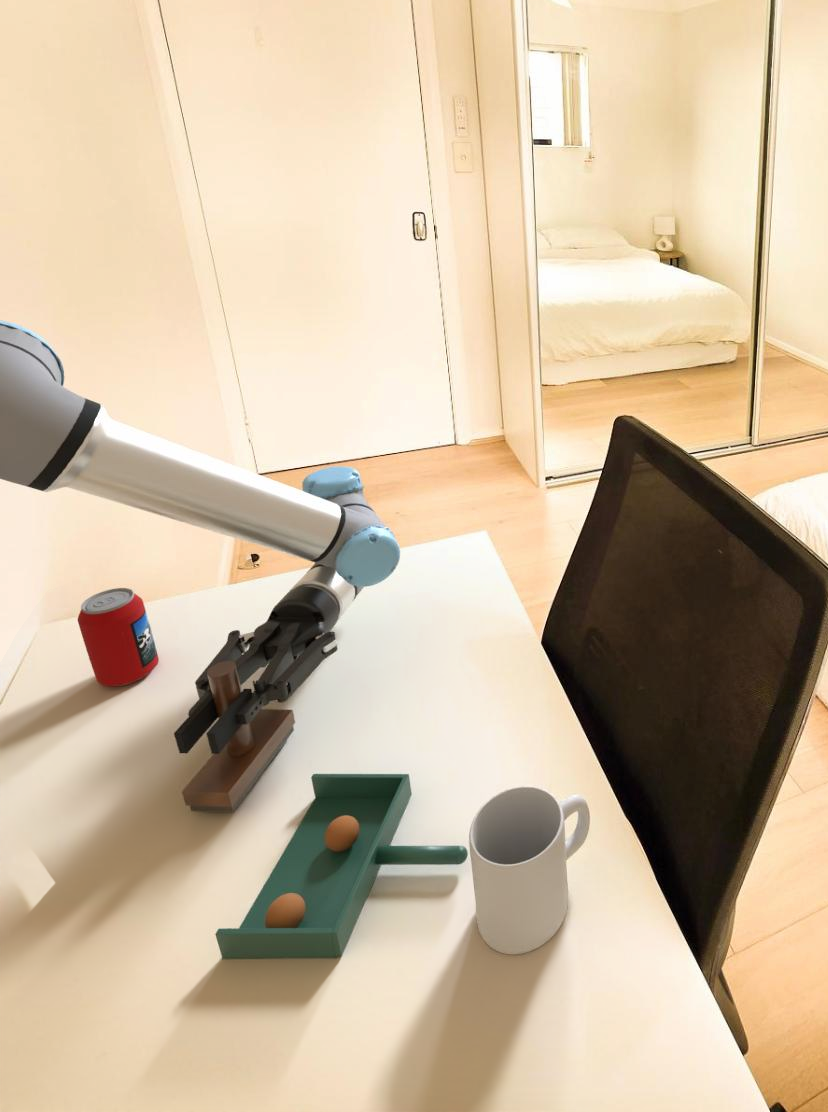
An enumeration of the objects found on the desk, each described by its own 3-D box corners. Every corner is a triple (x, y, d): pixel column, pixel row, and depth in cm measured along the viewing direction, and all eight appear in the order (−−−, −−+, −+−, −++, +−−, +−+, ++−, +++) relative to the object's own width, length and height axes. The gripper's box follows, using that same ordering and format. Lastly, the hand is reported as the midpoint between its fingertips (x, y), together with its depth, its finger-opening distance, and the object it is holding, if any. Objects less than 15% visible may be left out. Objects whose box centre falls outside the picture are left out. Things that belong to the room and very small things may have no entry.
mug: (507, 978, 60) (499, 888, 57) (460, 907, 66) (450, 822, 62) (614, 885, 69) (613, 801, 65) (564, 829, 74) (561, 750, 70)
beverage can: (169, 669, 95) (149, 595, 91) (109, 698, 90) (85, 621, 86) (147, 651, 99) (127, 579, 95) (89, 678, 93) (65, 603, 89)
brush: (187, 812, 74) (156, 708, 69) (256, 727, 85) (234, 633, 81) (233, 814, 74) (206, 710, 69) (296, 728, 85) (276, 634, 81)
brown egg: (288, 943, 63) (269, 947, 61) (269, 915, 64) (250, 918, 62) (318, 910, 65) (301, 912, 62) (299, 884, 66) (282, 885, 63)
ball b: (314, 850, 70) (322, 833, 69) (332, 820, 73) (341, 803, 72) (343, 863, 70) (352, 846, 69) (360, 833, 73) (369, 816, 72)
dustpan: (222, 959, 61) (214, 934, 60) (317, 795, 77) (313, 773, 76) (441, 957, 62) (437, 932, 61) (490, 795, 78) (488, 773, 77)
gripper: (374, 631, 95) (279, 771, 73) (259, 630, 94) (128, 771, 72) (367, 584, 92) (266, 715, 70) (248, 583, 92) (110, 714, 70)
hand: (196, 743), depth 71 cm, fingers closed on brush, 3 cm apart
